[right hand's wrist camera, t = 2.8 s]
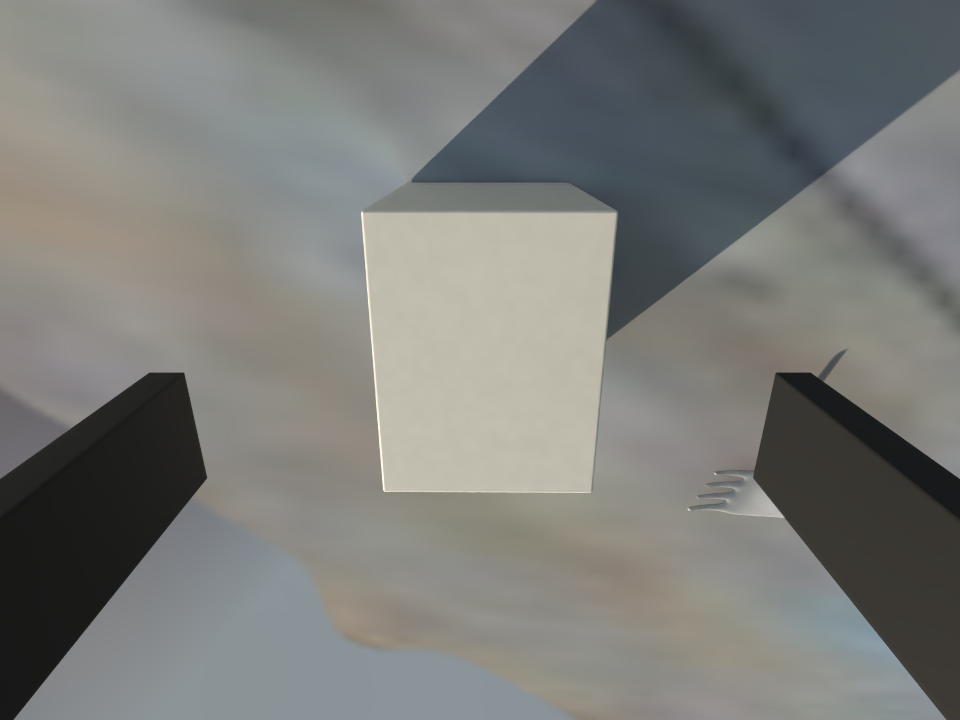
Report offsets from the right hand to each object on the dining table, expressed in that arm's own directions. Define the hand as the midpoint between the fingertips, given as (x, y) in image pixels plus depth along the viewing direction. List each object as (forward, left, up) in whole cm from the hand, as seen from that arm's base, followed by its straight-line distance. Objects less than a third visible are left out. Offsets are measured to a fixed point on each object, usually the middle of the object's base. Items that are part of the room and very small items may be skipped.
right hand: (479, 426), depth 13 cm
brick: (0, 0, -12) cm, 12 cm away
